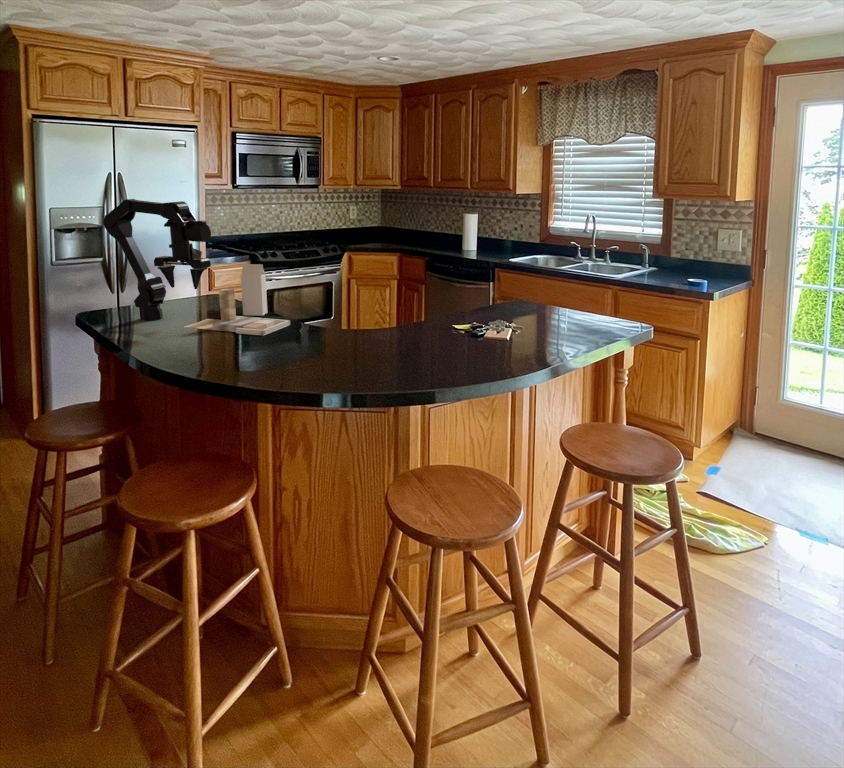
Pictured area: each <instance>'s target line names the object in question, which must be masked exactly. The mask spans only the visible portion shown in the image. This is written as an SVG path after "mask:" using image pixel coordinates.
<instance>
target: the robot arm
mask: <svg viewBox="0 0 844 768" xmlns="http://www.w3.org/2000/svg"><path fill="white" fill-rule="evenodd" d="M136 213H139V214H141V213H142V214H149V215H157V216H160V217H162V218H164V219H165V220H166V219H167V221H166V222H165V223H164V224H163V227H166V228H169V232H170V243H171V244H168V248H170V249H171V254H172V255H171V256H169V255H162V256H157V257H154V259H153V266H154V267H157V269H158V270H160V271H161V273H162V275H163V276H164V277H165V279H166V281H167V283H168V284H169V286H170V288H175V273H174V270H175V269H176V266H177V265H178V266H190V267H191V268H190V270H189V271H190V275H191V281H192V285H193V289H194V290H197V289H198V287H199V285H200V280H201V277H202V275H203V272H205V271H206V270H208V268H210V267H211V266H212V264H211V263H212V262H211V260H210V258H209V257H207V258H205V257H202V254H203V253H202V252H203V251H201V250H199V249H197V248H194V247H193V246H194V245H193V243H190V242H195V243H196V242H197V243H208V242H209V241H210V240H211V236H212V230H211V229H210V226H209V225H208V224H207V221H206V220H197V218H196V216H195V215H194V213H193V212H192V210H191V209H190V207H189V204H188V203H187V202H186V201H171V202H157V201H148V200H138V199H135V198H129V199H127V198H126V199H124V200H123V201H121V202H120V204H118V205H117V206H116V207H114V208H113V209H112V210H111V211H110V212H109V213H106V215H104V217H103V221H102V224H103V227H104V229H105V230H106V231H107V233H108V234H109V235H110V236H111V237H112V238H114V239H115V240H116V241H117V242H118V244H119V247H121V250H122V251H123V253H124V256H125V257H126V260H127V261H128V263H129V265H130V267H131V269H132V271H133V273H134V275H135V277H136V279H137V291H138V295H137V296H136V298H135V299H134V300H133V302H134V303H133V304H134V306H135V307H136V308H138V310H139V311H138V312H139V319H140V321H144V322H145V321H149V322H152V321H160V320H162V319H164V318H163V317H164V316H163V315H164V314H163V309H162V308H161V304H162V305H163V304H164V300H165V297H166V294H167V290H166V287H167V286H166V285H165V283H164V282H163V279H162V277H161V276H155V275H154V274H152V272H151V270H150V268H149V265H148V263H147V262H146V260H145V258H144V256H143V253H141V250H140V248H139V246H138V245H137V242H136V241H135V238H134V237H133V236H134V235H133V226H132V222H133V220H134V219H135V217H136Z"/></svg>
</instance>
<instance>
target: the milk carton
mask: <svg viewBox="0 0 844 768" xmlns="http://www.w3.org/2000/svg"><path fill="white" fill-rule="evenodd" d="M241 266H242V269H241V274H240V287H241V288H240V289H241V302H242V316H258V317H259V316H265V314H268V299H267V282H266V281H267V280H266V278H267V277H266V272H265V270H264V265H263V264H262V263H261V264H260V263H259V264H258V263H257V264H256V263H255V264H254V263H253V264H250V263H248V264H247V263H245V264H244V263H243V264H242V265H241Z"/></svg>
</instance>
